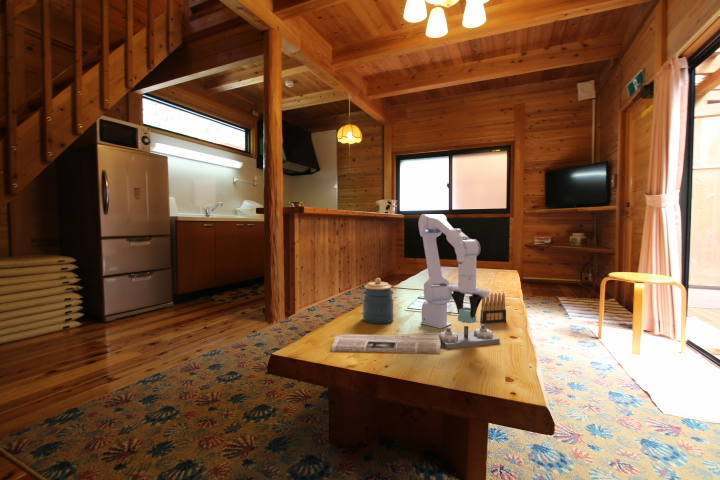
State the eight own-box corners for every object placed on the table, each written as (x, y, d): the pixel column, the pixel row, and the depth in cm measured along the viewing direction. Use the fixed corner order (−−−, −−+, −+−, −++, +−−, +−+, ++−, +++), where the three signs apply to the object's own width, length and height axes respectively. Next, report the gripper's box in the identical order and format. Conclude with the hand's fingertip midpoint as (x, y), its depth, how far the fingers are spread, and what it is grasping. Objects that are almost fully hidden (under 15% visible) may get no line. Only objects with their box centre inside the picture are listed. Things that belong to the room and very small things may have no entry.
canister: (390, 325, 128) (390, 281, 127) (358, 323, 132) (358, 279, 131) (396, 316, 141) (396, 276, 140) (367, 314, 144) (366, 274, 144)
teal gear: (454, 320, 111) (454, 309, 111) (463, 316, 115) (463, 305, 115) (471, 324, 107) (471, 312, 107) (479, 320, 111) (479, 308, 111)
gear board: (446, 348, 104) (446, 333, 104) (433, 339, 113) (433, 325, 113) (499, 343, 109) (499, 328, 109) (483, 334, 118) (483, 320, 118)
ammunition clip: (503, 320, 135) (504, 291, 134) (506, 321, 133) (507, 292, 132) (480, 322, 133) (480, 293, 132) (482, 323, 131) (483, 293, 130)
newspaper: (331, 352, 103) (331, 341, 103) (336, 338, 115) (336, 329, 115) (444, 355, 101) (444, 343, 101) (437, 340, 113) (437, 330, 113)
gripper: (493, 276, 108) (492, 316, 108) (453, 271, 118) (453, 309, 119) (483, 278, 103) (483, 321, 104) (443, 273, 113) (443, 312, 114)
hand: (466, 315), depth 111 cm, fingers closed on teal gear, 4 cm apart
